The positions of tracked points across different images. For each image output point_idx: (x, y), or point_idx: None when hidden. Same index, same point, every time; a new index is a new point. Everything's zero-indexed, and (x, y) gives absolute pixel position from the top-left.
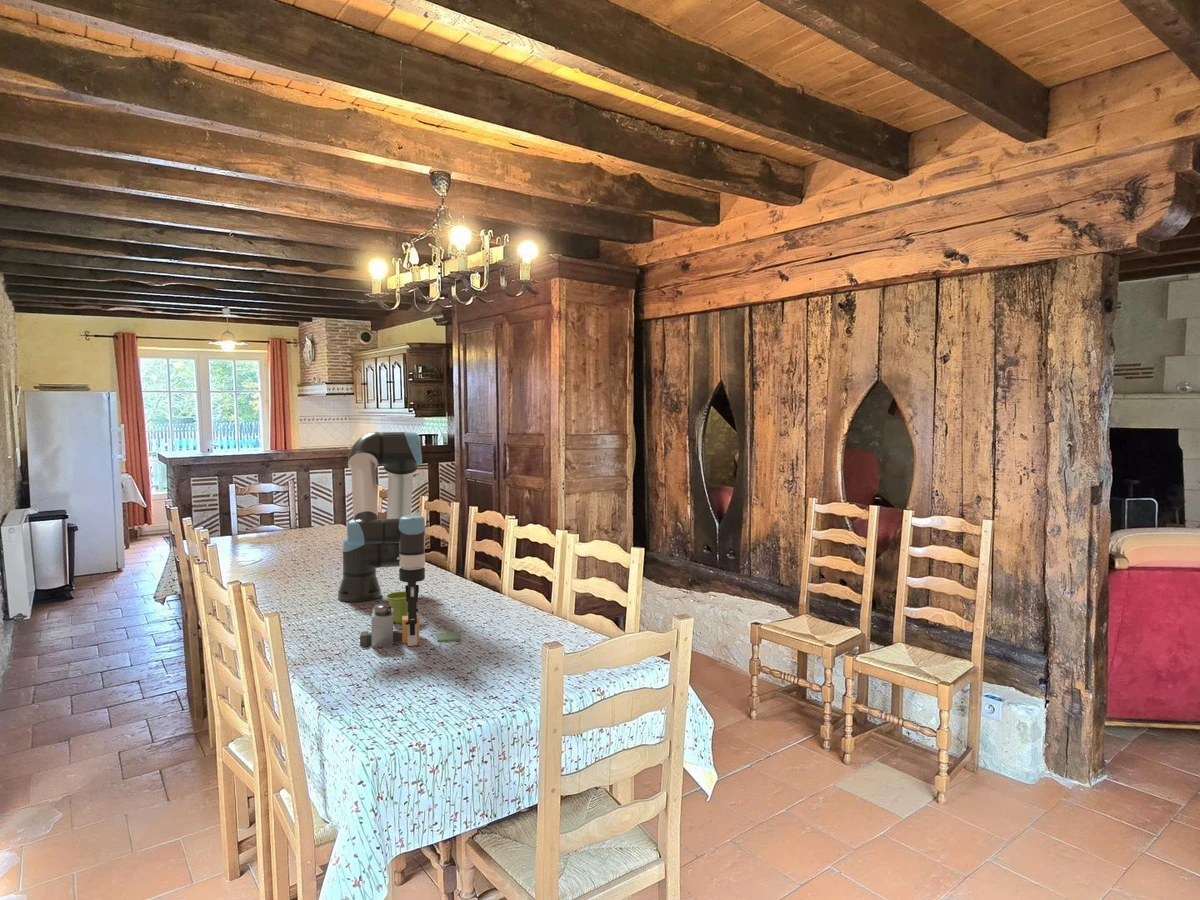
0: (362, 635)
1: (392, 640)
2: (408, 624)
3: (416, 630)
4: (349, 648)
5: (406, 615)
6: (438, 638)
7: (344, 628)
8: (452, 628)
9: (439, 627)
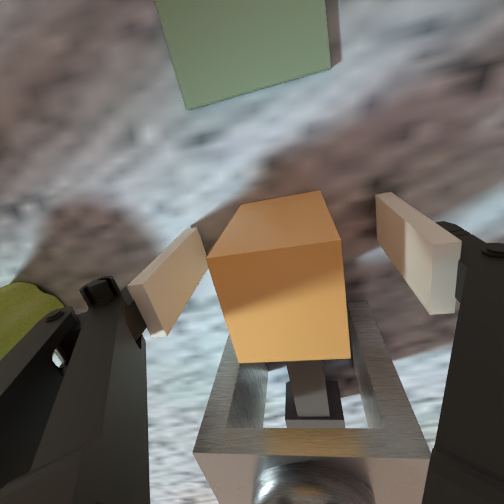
0: None
1: (373, 319)
2: (453, 304)
3: (430, 222)
4: (364, 420)
5: (26, 309)
6: (293, 71)
7: (163, 439)
8: (55, 23)
9: (64, 123)
